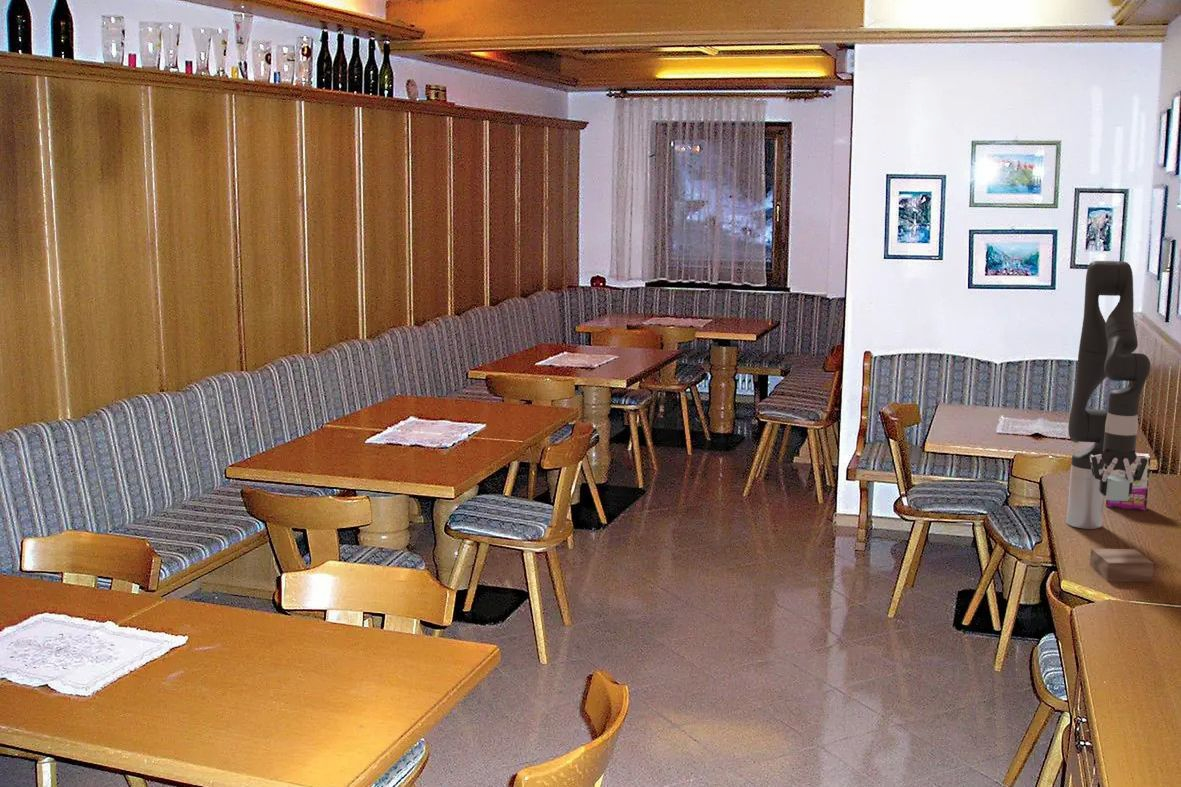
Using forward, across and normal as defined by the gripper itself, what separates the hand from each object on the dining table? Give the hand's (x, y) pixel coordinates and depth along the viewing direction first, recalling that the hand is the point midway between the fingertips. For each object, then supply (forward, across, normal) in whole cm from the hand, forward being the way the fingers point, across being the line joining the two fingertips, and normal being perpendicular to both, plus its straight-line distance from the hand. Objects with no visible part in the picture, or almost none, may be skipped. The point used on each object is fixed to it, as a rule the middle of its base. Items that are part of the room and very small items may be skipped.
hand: (1114, 495), depth 308 cm
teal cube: (+1, 0, 0) cm, 1 cm away
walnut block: (+17, 0, +12) cm, 21 cm away
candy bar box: (+18, -18, -51) cm, 57 cm away
